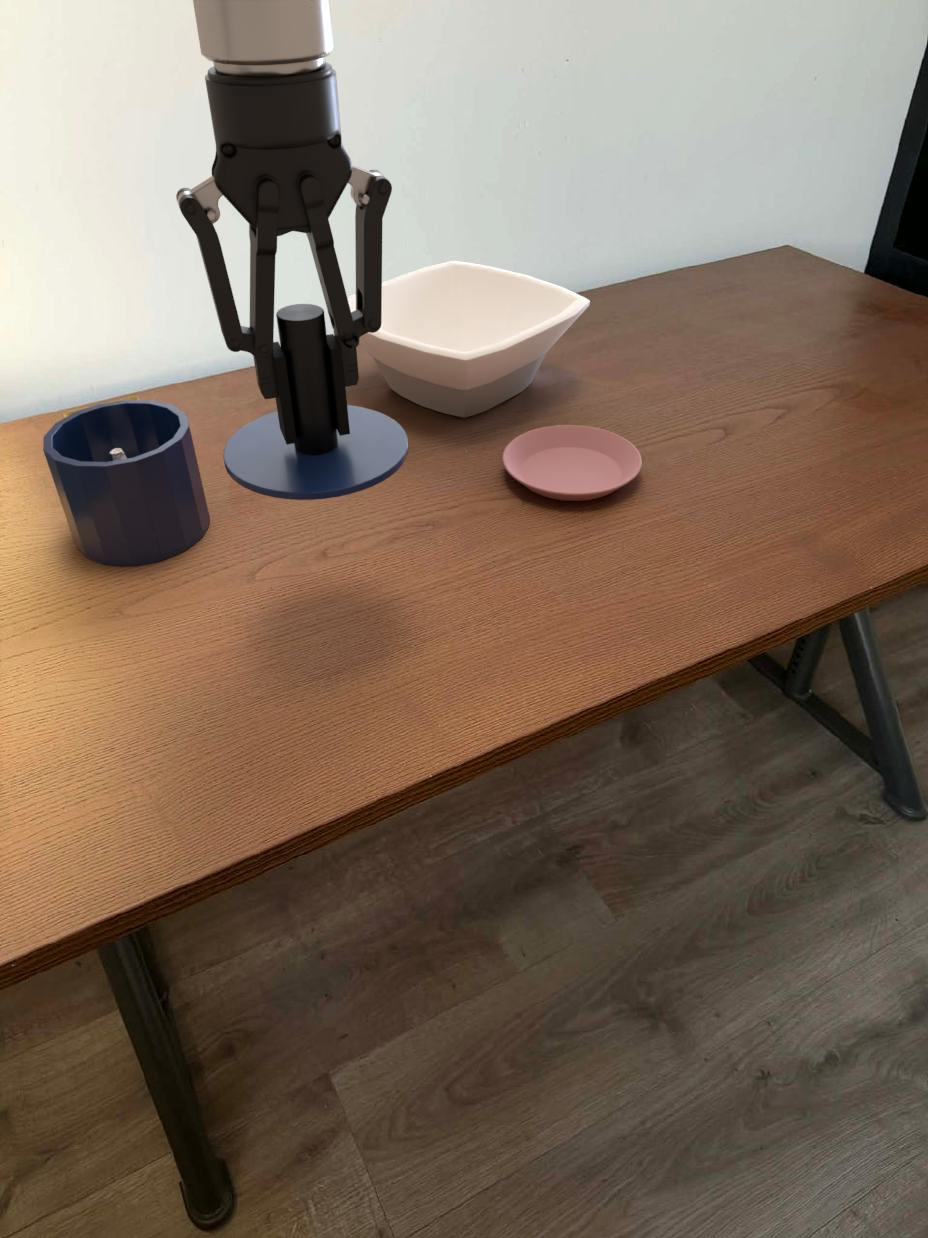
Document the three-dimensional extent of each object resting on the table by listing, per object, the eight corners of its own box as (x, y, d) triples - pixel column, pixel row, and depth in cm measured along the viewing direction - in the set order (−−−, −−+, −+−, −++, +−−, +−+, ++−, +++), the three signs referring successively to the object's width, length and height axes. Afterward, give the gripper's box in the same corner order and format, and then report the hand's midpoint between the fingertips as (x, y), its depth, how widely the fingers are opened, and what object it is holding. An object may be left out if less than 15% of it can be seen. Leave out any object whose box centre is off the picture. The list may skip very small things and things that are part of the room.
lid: (240, 522, 63) (210, 366, 56) (215, 433, 73) (186, 290, 66) (431, 487, 67) (426, 335, 60) (382, 406, 77) (372, 268, 70)
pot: (77, 577, 85) (42, 477, 78) (75, 507, 94) (43, 412, 87) (217, 550, 88) (195, 451, 81) (201, 485, 97) (180, 390, 90)
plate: (612, 524, 90) (614, 506, 89) (479, 491, 95) (479, 474, 94) (657, 457, 100) (660, 440, 99) (534, 430, 105) (535, 414, 104)
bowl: (317, 392, 113) (307, 309, 107) (457, 330, 128) (455, 253, 121) (465, 456, 101) (464, 366, 94) (602, 379, 115) (608, 296, 108)
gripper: (388, 44, 58) (407, 392, 73) (119, 61, 54) (196, 426, 69) (423, 62, 53) (435, 435, 68) (126, 82, 49) (208, 474, 64)
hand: (314, 430), depth 68 cm, fingers closed on lid, 3 cm apart
